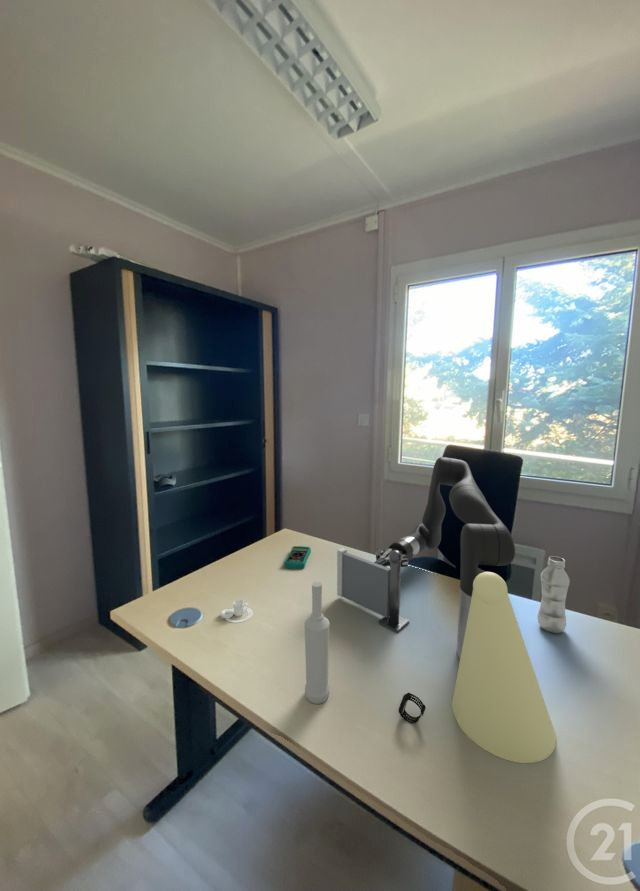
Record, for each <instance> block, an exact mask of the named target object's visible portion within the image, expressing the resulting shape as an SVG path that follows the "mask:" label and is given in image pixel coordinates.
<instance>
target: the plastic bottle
mask: <svg viewBox="0 0 640 891" xmlns="http://www.w3.org/2000/svg"><path fill="white" fill-rule="evenodd" d="M565 569H566V560H565V559H564V558H563V557H559V556H556V555H555V556H553V555H551V556H549V557H548V561H547V567H545V568H544V569H543V570H542V572H541V573H540V582H541V584H540V585H541V601H540V606H539V609H538V612H537V623H538V625H539V626H540V628H542V629H543V630H545V631H547V632H549V633H554V634H561V633H563V632H564V631H565V630H566V627H567V616H566V599H567V593H568V590H569V586H570V582H571V580H570V577H569V576H568V574H567V572H566V571H565Z"/></svg>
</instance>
